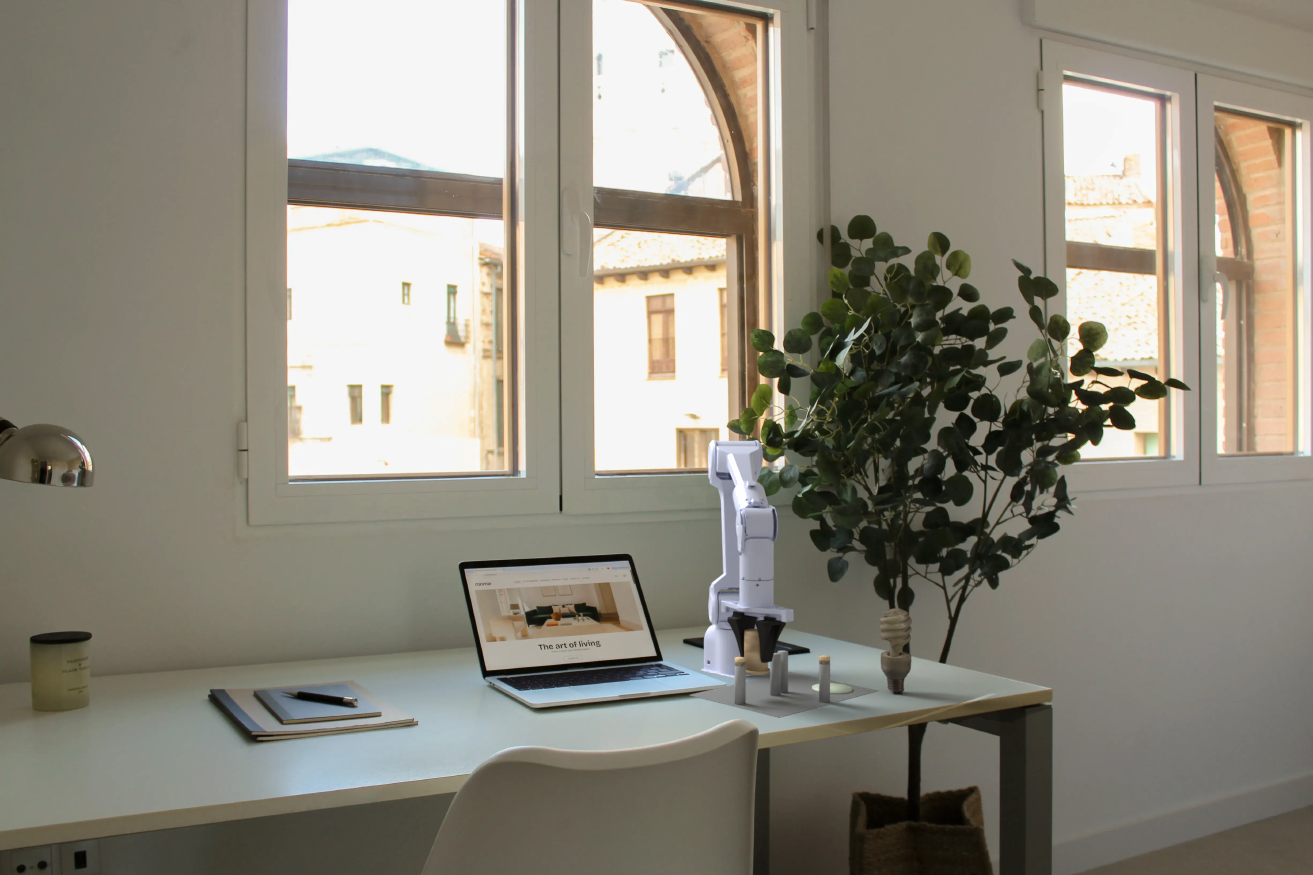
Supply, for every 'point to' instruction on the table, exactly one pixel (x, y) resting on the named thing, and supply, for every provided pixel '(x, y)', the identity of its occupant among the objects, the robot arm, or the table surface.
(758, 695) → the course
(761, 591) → the robot arm
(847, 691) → the pad
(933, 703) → the table surface
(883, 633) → the light bulb
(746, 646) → the cylinder
